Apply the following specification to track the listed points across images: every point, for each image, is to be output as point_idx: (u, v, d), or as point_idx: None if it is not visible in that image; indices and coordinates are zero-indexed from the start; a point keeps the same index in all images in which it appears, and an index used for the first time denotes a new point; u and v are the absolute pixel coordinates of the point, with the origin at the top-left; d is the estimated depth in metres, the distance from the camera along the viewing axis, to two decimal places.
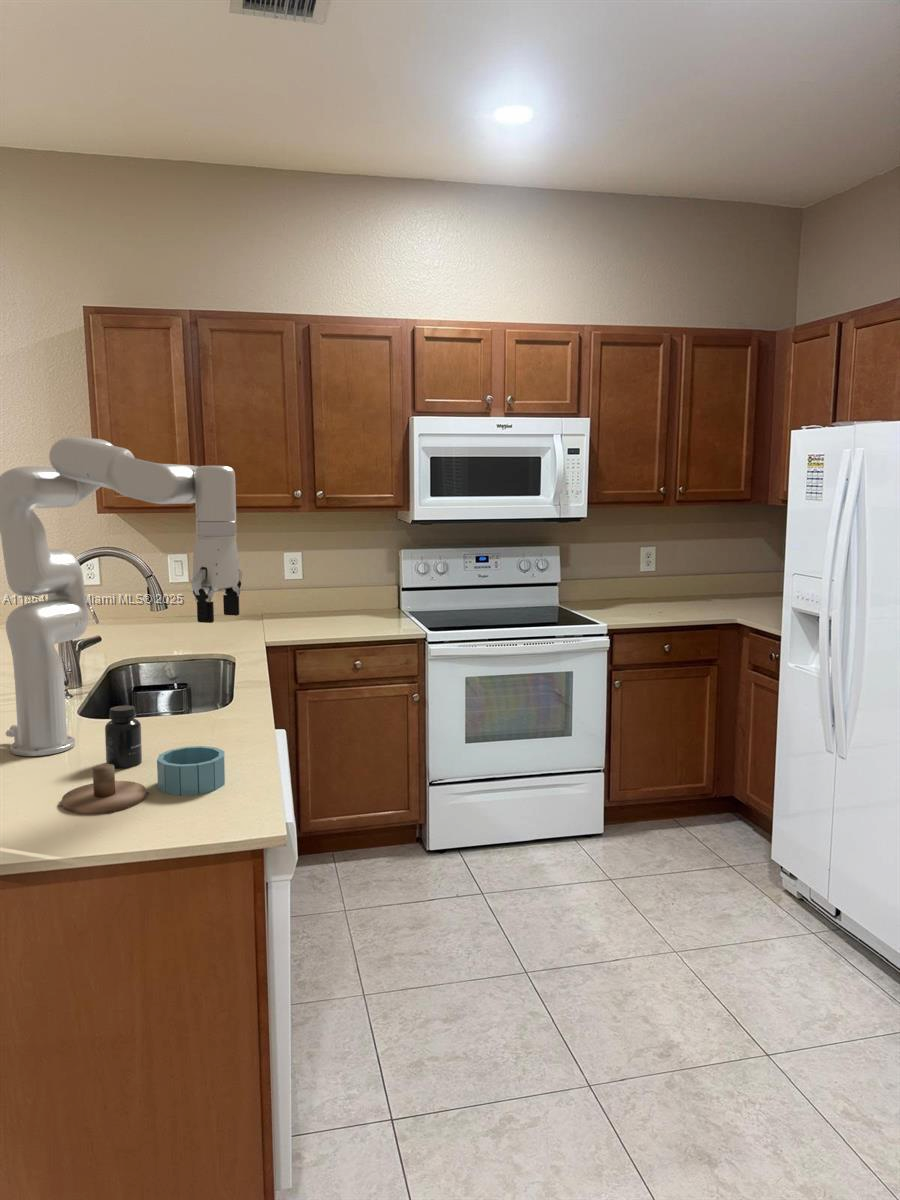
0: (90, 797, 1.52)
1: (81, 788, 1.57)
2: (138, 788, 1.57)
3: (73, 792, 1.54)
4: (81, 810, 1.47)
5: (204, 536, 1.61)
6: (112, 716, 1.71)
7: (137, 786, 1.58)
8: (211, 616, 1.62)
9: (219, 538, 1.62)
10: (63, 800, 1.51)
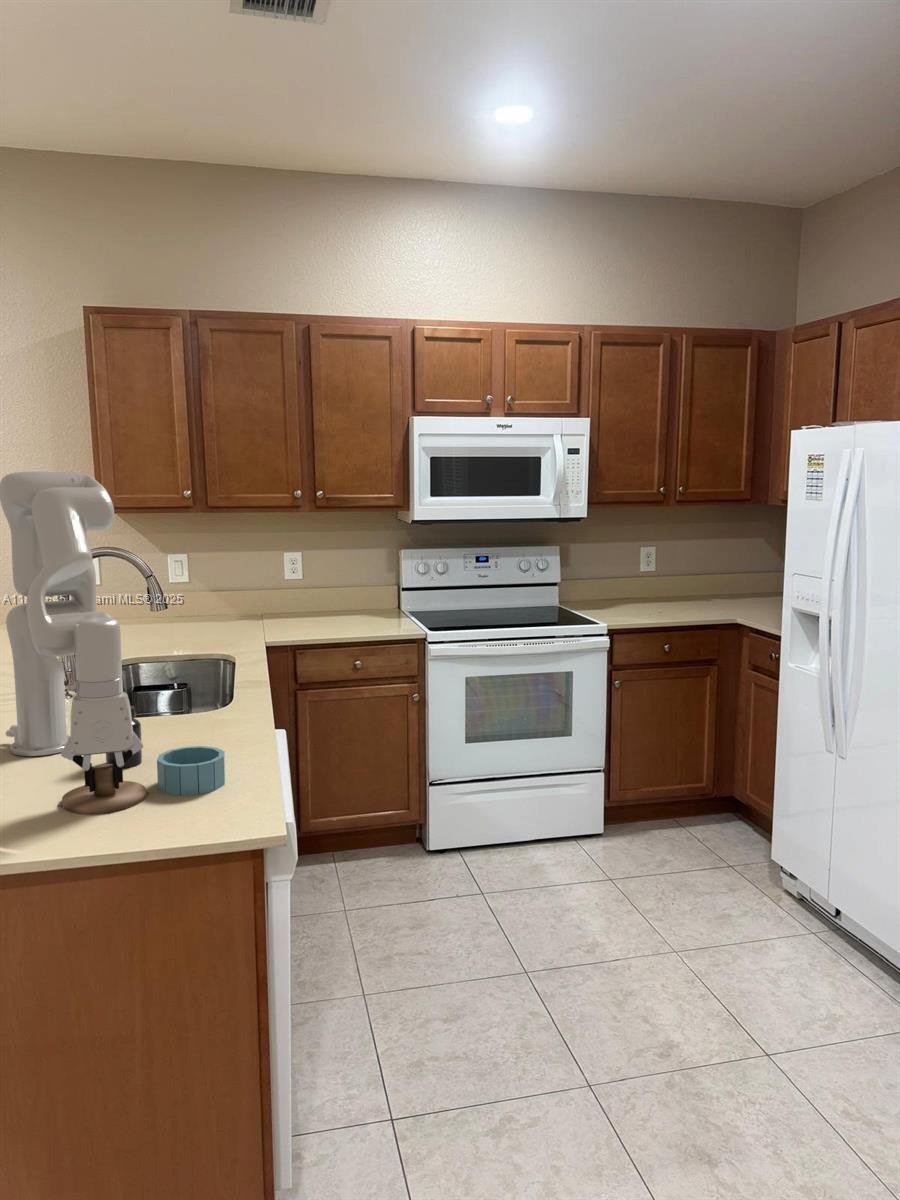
0: (90, 797, 1.52)
1: (81, 788, 1.57)
2: (138, 787, 1.57)
3: (73, 792, 1.54)
4: (81, 810, 1.47)
5: (122, 692, 1.52)
6: None
7: (137, 786, 1.58)
8: None
9: None
10: (63, 800, 1.51)
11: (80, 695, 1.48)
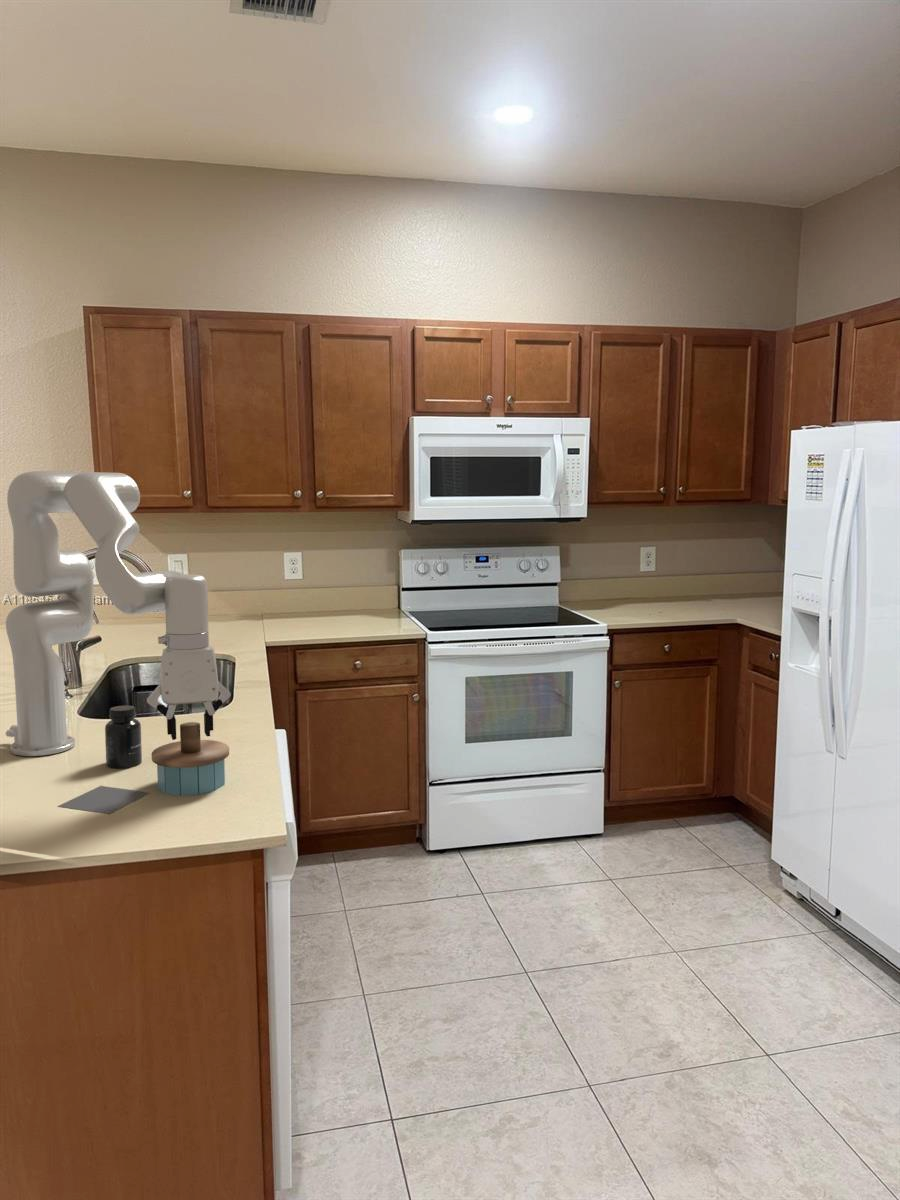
0: (178, 753, 1.60)
1: (167, 745, 1.64)
2: (221, 745, 1.65)
3: (160, 749, 1.62)
4: (172, 764, 1.55)
5: (208, 645, 1.60)
6: (112, 716, 1.71)
7: (220, 744, 1.66)
8: None
9: None
10: (153, 755, 1.58)
11: (170, 647, 1.56)
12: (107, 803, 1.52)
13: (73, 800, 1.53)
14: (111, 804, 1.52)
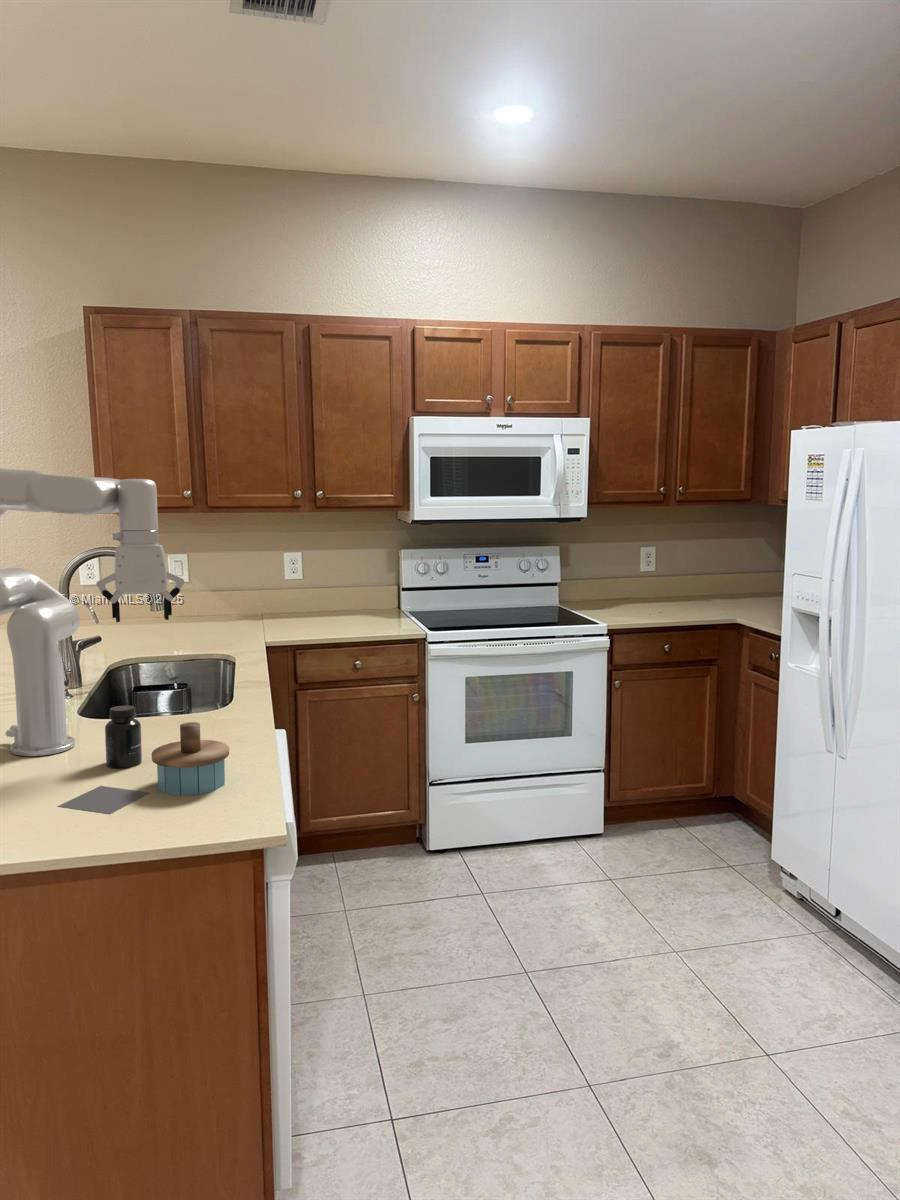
0: (178, 753, 1.60)
1: (167, 745, 1.64)
2: (221, 745, 1.65)
3: (160, 749, 1.62)
4: (172, 764, 1.55)
5: (158, 543, 1.79)
6: (112, 716, 1.71)
7: (220, 744, 1.66)
8: None
9: None
10: (153, 755, 1.58)
11: (123, 542, 1.75)
12: (107, 803, 1.52)
13: (73, 800, 1.53)
14: (111, 804, 1.52)
